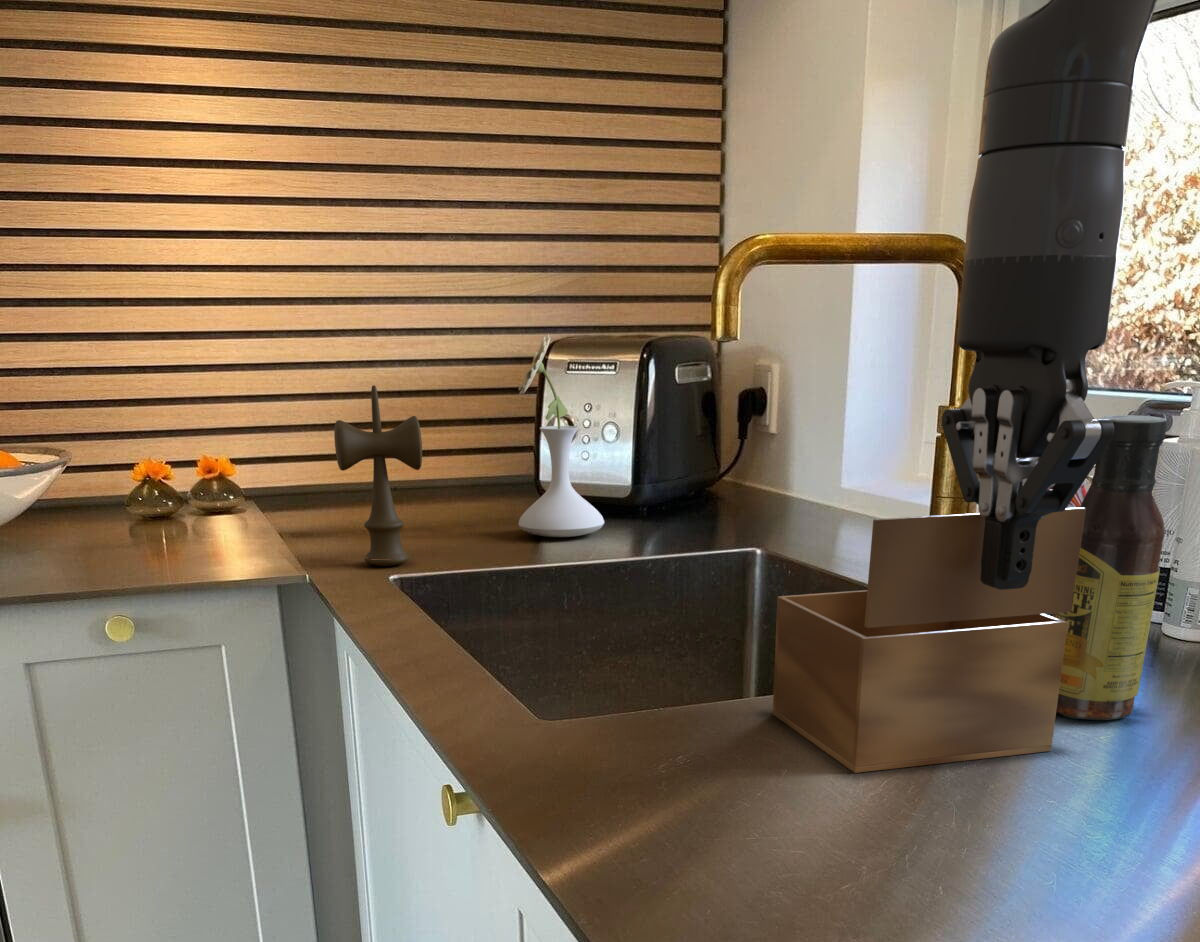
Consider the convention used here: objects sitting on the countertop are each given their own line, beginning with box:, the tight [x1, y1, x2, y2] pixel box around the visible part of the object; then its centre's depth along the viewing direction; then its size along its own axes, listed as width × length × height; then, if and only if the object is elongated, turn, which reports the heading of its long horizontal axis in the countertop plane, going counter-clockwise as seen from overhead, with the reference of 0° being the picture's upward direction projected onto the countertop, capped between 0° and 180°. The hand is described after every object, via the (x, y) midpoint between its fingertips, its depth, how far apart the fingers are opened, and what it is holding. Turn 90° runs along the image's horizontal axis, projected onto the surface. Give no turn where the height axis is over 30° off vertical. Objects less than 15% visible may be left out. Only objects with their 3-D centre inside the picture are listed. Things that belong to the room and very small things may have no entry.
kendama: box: [333, 385, 423, 567], centre depth 139 cm, size 6×10×20 cm, turn 104°
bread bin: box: [772, 589, 1068, 774], centre depth 80 cm, size 14×13×8 cm
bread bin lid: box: [864, 507, 1086, 628], centre depth 71 cm, size 14×6×1 cm
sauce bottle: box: [1052, 414, 1168, 721], centre depth 82 cm, size 7×6×20 cm
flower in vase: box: [517, 333, 605, 538], centre depth 156 cm, size 13×11×25 cm
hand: (1003, 585), depth 69 cm, fingers closed
